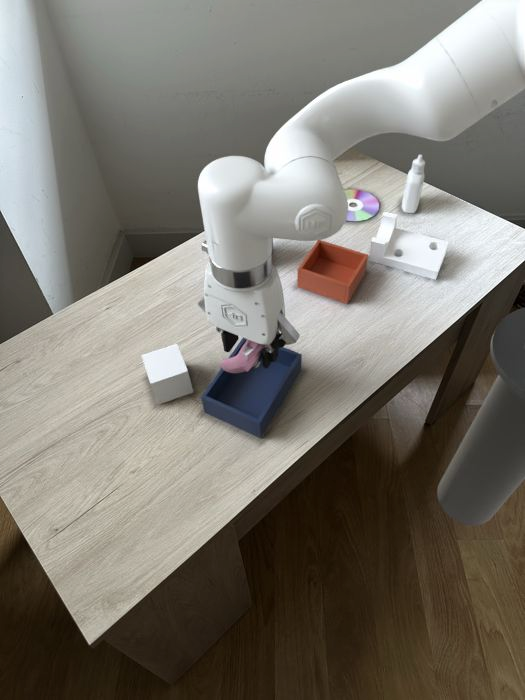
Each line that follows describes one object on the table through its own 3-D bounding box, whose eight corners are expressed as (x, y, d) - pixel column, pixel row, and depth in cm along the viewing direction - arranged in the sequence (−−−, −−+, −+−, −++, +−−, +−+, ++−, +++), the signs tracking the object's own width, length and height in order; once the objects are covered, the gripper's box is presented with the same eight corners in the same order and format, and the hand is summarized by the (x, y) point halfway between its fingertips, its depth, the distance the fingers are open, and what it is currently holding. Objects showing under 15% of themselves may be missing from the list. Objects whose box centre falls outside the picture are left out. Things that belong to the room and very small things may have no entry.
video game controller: (241, 386, 76) (258, 369, 70) (216, 368, 75) (230, 349, 69) (272, 339, 81) (290, 319, 75) (249, 322, 81) (265, 300, 75)
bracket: (369, 263, 103) (371, 240, 96) (381, 235, 105) (384, 211, 98) (435, 282, 99) (441, 259, 92) (446, 252, 101) (453, 228, 94)
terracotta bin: (365, 272, 100) (368, 254, 96) (347, 304, 95) (349, 286, 92) (317, 257, 103) (318, 239, 100) (297, 287, 98) (297, 269, 95)
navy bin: (301, 370, 86) (301, 354, 83) (261, 438, 79) (259, 423, 75) (248, 349, 90) (246, 332, 86) (204, 412, 82) (200, 397, 79)
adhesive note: (183, 365, 88) (177, 343, 84) (193, 392, 85) (188, 370, 80) (148, 376, 87) (140, 355, 82) (158, 404, 84) (150, 383, 79)
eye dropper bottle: (425, 203, 112) (437, 153, 103) (410, 216, 110) (422, 165, 100) (408, 196, 114) (418, 145, 105) (393, 208, 112) (403, 157, 102)
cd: (385, 196, 114) (385, 195, 114) (370, 226, 108) (370, 226, 108) (337, 185, 117) (337, 185, 117) (320, 214, 111) (320, 214, 111)
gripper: (164, 259, 63) (187, 350, 77) (292, 305, 57) (291, 394, 72) (197, 223, 67) (214, 316, 81) (320, 263, 61) (314, 355, 76)
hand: (250, 352), depth 76 cm, fingers closed on video game controller, 5 cm apart
